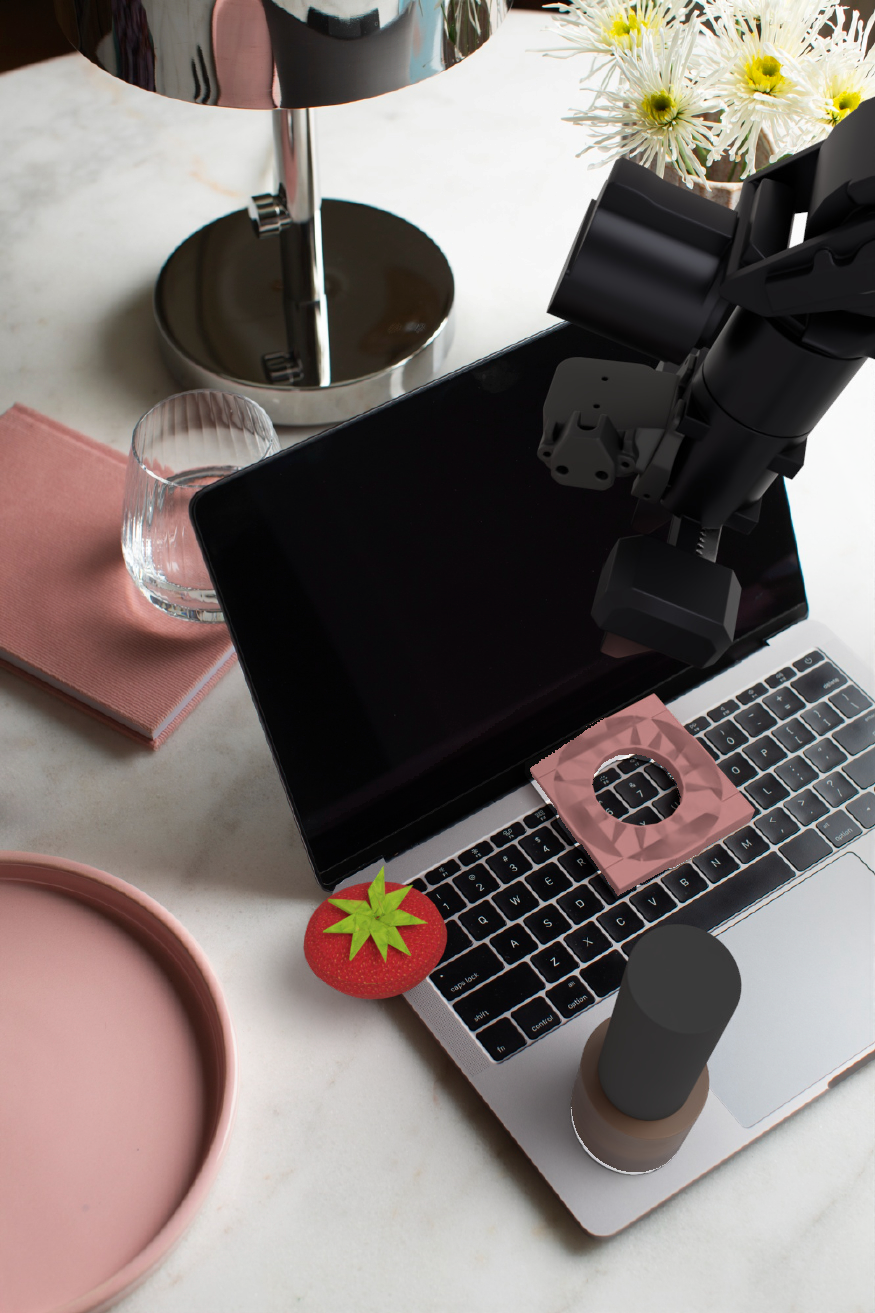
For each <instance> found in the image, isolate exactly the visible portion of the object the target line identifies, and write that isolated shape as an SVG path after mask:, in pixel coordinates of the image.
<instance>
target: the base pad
mask: <svg viewBox="0 0 875 1313" xmlns="http://www.w3.org/2000/svg"><path fill="white" fill-rule="evenodd" d="M602 719H603V718H602ZM599 720H600V719H599ZM629 754H637V755H642V756H646V757H647V758H651V759H653V760H654V761H656V762H657V763H658V764H660V765H661V766H662V767H665V768H666V769H667V771H668V772H669V773H670V774H671V776H673V778H674V780H675V781H676V783H677V787H678V790H679V793H680V796H681V798H680V797H679V802H680V805H679V804H678V806H677V808H676V809H675V811H674V812H673V813H672V815H670V816H667V817H666V818H665V819H663V820H661V821H659V822H658V823H652V824H651V823H650V824H645V825H639V824H638V825H637V824H632V823H628V822H623V821H622V820H620V819H618V818H617V817H616V816H613V815H612V814H610V813H608V812H607V811H606V810H605V808H604V807H603V805H601V803H600V802H599V801H598V800H597V797H596V793H595V789H594V785H592V784H594V780H595V779H594V774H595V773H596V772H597V771H598V769H599V768H600V767H601V765H602V764H603V763H604V762H606V761H608V760H609V759H612V758H614V757H615V756H618V755H629ZM530 772H531V774H532V777H533V778H534V780H536V781H537V783H538V784H539V785H540V787H541V788H542V790H543V791H544V792H545V794H546V795H547V797H548V798H549V799H550V801H551V802H552V803H553V805H554V807H555V808H556V810H557V813H558V815H559V817H560V818H561V820H562V822H563V823H564V824H565V826H566V828H568V830H569V831H570V832H571V834H572V836H573V837H574V838H575V840H576V841H577V842H578V843H579V844H582V845H583V847H584V849H585V850H586V851H587V853H588V855H590V857H591V859H592V860H593V861H594V863H595V864H596V866H597V867H598V869H599V870H600V871H601V873H602V874H603V875H604V876H605V878H606V880H607V882H609V884H610V885H611V887H612V888H613V889H614V891H615V893H616V894H617V896H619V895H620V894H622V893H624V892H626V891H627V890H630V889H632V888H633V887H635V886H637V885H639V884H640V883H643V882H645V881H646V880H648V879H650V878H652V877H654V876H655V875H657V874H659V873H661V872H663V871H664V870H667V869H668V868H673V867H676V866H677V865H679V864H681V863H683V862H685V861H686V860H688V859H690V858H692V857H693V856H695V855H697V856H699V855H700V854H701V853H702V852H703V851H704V850H705V849H706V848H708V847H710V846H712V845H713V844H715V843H717V842H718V841H720V840H722V839H723V838H725V837H726V836H728V835H730V834H732V833H734V832H735V831H737V830H738V829H741V828H742V827H744V826H746V825H747V824H749V823H750V822H751V821H752V818H753V816H754V813H755V811H756V809H755V808H754V807H753V805H751V803H750V802H749V801H748V800H747V798H746V797H744V795H743V794H742V793H741V792H740V790H739V789H738V788H737V787H736V786H735V784H734V783H733V782H732V781H731V780H730V778H728V776H727V775H726V774H725V772H723V771H722V769H720V767H719V766H718V765H717V762H716V761H715V758H713V756H712V755H711V754H710V753H709V752H708V750H706V749H705V748H704V746H703V745H702V744H701V742H700V741H698V739H697V738H696V737H695V736H694V735H692V734H690V732H689V731H688V730H687V729H686V728H685V727H684V725H683V724H682V723H681V722H680V721H679V720H678V719H677V717H675V715H674V714H673V713H672V712H671V710H670V709H669V708H668V707H667V706H666V705H665V704H664V703H663V702H662V700H660V698H659V697H658V696H657V695H656V694H655V693H652V694H650V695H648V696H646V697H644V698H643V699H641V700H639V701H636V702H634V703H633V704H630V705H629V706H627V707H626V708H624V709H621V710H620V711H618V712H616V713H614V714H612V715H610V716H608V717H604V719H603V720H600V722H597V724H595V725H594V726H591V728H588V729H587V730H585V731H584V732H583V733H582V734H580V735H579V736H577V737H576V738H574V740H570V742H568V743H567V744H564V745H563V746H562V747H561V748H559V749H558V750H555V753H553V752H552V754H551V755H548V757H545V759H541V761H539V763H538V764H535V765H534V766H532V767H531V768H530ZM593 779H594V780H593ZM677 787H676V788H677ZM721 838H722V839H721ZM719 839H720V840H719ZM714 842H715V843H714ZM712 843H713V844H712ZM709 845H710V846H709ZM707 846H708V847H707ZM701 851H702V852H701ZM700 852H701V853H700ZM699 853H700V854H699ZM698 854H699V855H698ZM695 857H696V856H695ZM692 859H693V858H692ZM690 860H691V859H690ZM685 863H686V862H685ZM683 864H684V863H683ZM667 871H668V870H667Z"/></svg>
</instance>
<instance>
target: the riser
mask: <svg viewBox="0 0 875 1313" xmlns="http://www.w3.org/2000/svg"><path fill="white" fill-rule="evenodd" d="M610 1019H611V1016H609V1017H607V1018H606V1019H604V1020H603V1021H602V1022H600V1024H598V1025H597V1026H596V1027H595V1028H594V1029H593V1031H592V1032H591V1034H590V1035H589V1037H588V1039H587V1040H586V1042H585V1045H584V1047H583V1050H582V1053H581V1057H580V1062H579V1065H578V1070H577V1073H576V1078H575V1081H574V1086H573V1089H572V1093H571V1097H572V1100H571V1099H570V1104H571V1107H572V1108H571V1109H572V1116H573V1121H574V1125H575V1128H576V1131H577V1133H578V1135H579V1137H580V1138H581V1140H582V1141H583V1143H584V1145H585V1146H586V1147H587V1148H588V1150H589V1151H590V1152H591V1153H592V1154H593V1155H594V1156H595V1157H596V1158H598V1159H599V1160H600V1161H602V1162H603V1163H605V1164H607V1165H609V1166H611V1167H613V1168H616V1169H617V1170H621V1171H626V1172H646V1171H649V1170H653V1169H656V1168H659V1167H660V1166H662V1165H664V1164H666V1163H667V1162H668V1161H669V1160H670V1159H671V1160H672V1159H673V1158H674V1157H675V1156H676V1155H677V1153H678V1152H679V1151H680V1149H681V1147H682V1145H683V1144H684V1142H685V1141H686V1139H687V1137H688V1136H689V1133H690V1132H691V1130H692V1129H693V1127H694V1125H695V1124H696V1122H697V1121H698V1119H699V1117H700V1115H701V1114H702V1111H703V1109H704V1108H705V1106H706V1103H707V1099H708V1096H709V1092H710V1073H709V1072H710V1071H709V1066H708V1062H707V1063H706V1065H705V1067H704V1069H703V1071H702V1073H701V1075H700V1076H699V1078H698V1080H697V1082H696V1084H695V1086H694V1088H693V1089H692V1091H691V1093H690V1095H689V1097H688V1099H687V1100H686V1102H685V1103H684V1105H683V1106H682V1107H681V1108H680V1109H679V1110H678V1111H677V1112H676V1113H674V1114H673V1115H671V1116H669V1117H667V1118H664V1119H660V1120H654V1121H645V1120H639V1119H636V1118H633V1117H630V1116H628V1115H626V1114H625V1113H623V1112H621V1111H620V1110H619V1109H618V1108H616V1107H615V1106H614V1105H613V1104H612V1103H611V1102H610V1100H609V1099H608V1098H607V1096H606V1094H605V1093H604V1091H603V1089H602V1086H601V1083H600V1080H599V1074H598V1062H599V1057H600V1053H601V1050H602V1046H603V1043H604V1039H605V1036H606V1033H607V1029H608V1026H609V1022H610ZM677 1151H678V1152H677ZM675 1154H676V1155H675ZM674 1155H675V1156H674ZM673 1156H674V1157H673ZM672 1157H673V1158H672ZM671 1160H670V1161H671ZM670 1161H669V1162H670ZM669 1162H668V1163H669ZM668 1163H667V1164H668ZM667 1164H666V1165H667Z"/></svg>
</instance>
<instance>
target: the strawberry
mask: <svg viewBox="0 0 875 1313" xmlns="http://www.w3.org/2000/svg"><path fill="white" fill-rule="evenodd" d="M413 886H414V885H413V884H411V885H410V884H409V885H406V884H403V883H399V882H393V881H385V865H383V866H382V867H381V868H380V870H379V872H378V874H377V875H376V877H375V878H374V880H373V881H366V882H361V883H356V884H354V885H351V886H347V887H345V888H342V889H341V890H339V891H337V892H335V893H333V894H331V895H330V896H329V897H327V898H325V899H324V900H323V901H322V903H320V904H319V905H318V907H316V908H315V910H314V912H313V913H312V915H311V916H310V918H309V920H308V923H307V926H306V929H305V932H304V936H303V947H302V948H303V953H304V959H305V960H306V963H307V965H308V967H309V968H310V970H311V971H312V972H313V973H314V975H315V976H316V977H317V978H319V979H320V980H321V981H322V982H324V983H325V984H326V985H327V986H328V987H331V988H332V989H334V990H335V991H338V992H339V993H341V994H344V995H346V996H348V997H353V998H357V999H364V1000H383V999H387V998H392V997H396V996H399V995H402V994H404V993H407V992H408V991H410V990H412V989H414V988H416V987H417V986H418V985H419V984H421V983H422V982H423V981H424V980H426V978H427V977H428V976H429V975H430V974H431V973H432V972H433V970H434V969H435V968H436V966H437V965H438V964H439V962H440V960H441V958H442V957H443V955H444V953H445V950H446V947H447V946H446V945H447V943H448V930H447V926H446V923H445V920H444V918H443V917H442V914H441V913H440V911H439V909H438V907H437V906H436V904H435V903H434V902H433V901H432V900H431V899H430V898H429V897H428V896H427V895H425V894H424V893H422V892H421V891H420V890H418V889H416V888H414V887H413Z"/></svg>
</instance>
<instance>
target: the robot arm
mask: <svg viewBox="0 0 875 1313" xmlns="http://www.w3.org/2000/svg"><path fill="white" fill-rule="evenodd" d="M804 213H805V214H806V220H805V221H806V222H805V226H804V233H803V238H802V242H800V243H798V244H795V245H793V246H791V241H792V235H793V234H792V233H793V229H794V222H795V218H796V215H799V214H804ZM573 239H574V240H573V241H572V244H571V246H570V249H569V251H568V254H567V256H566V259H565V261H564V264H563V266H562V269H561V271H560V273H559V276H558V279H557V281H556V284H555V287H554V289H553V292H552V294H551V297H550V300H549V303H548V305H547V309H546V314H548V315H550V316H553V317H555V318H557V319H560V320H563V321H564V322H566V323H570V324H572V325H574V326H577V327H579V328H581V329H584V330H586V331H589V332H591V333H593V334H596V335H597V336H601V337H603V338H604V339H608V340H611V341H613V342H615V343H617V344H619V345H622V346H625V347H627V348H629V349H632V350H634V351H636V352H639V353H641V354H643V355H645V356H648V357H651V358H653V359H655V360H658V361H659V363H658V365H657V366H656V368H655V369H654V368H652V367H651V366H649V365H647V364H642V363H636V362H635V363H634V362H625V361H619V360H618V361H616V360H610V359H609V360H607V359H600V358H599V359H598V358H591V357H580V356H579V357H578V356H577V357H576V356H575V357H569V358H566V359H564V360H562V361H561V362H560V363H559V364H558V365H557V367H556V369H555V371H554V375H553V378H552V381H551V384H550V386H549V390H548V391H547V395H546V399H545V401H544V405H543V409H542V412H543V413H542V423H543V424H542V427H543V428H542V430H543V431H542V432H543V434H542V437H541V439H540V442H539V446H538V448H537V452H536V455H537V458H538V459H539V460H540V461H541V462H543V463H544V464H545V466H546V467H548V469H550V477H551V478H552V479H553V480H554V481H555V482H556V483H557V484H559V485H561V486H567V487H572V488H573V487H574V488H581V489H588V490H596V491H606V490H608V489H609V488H611V487H613V486H614V483H615V480H616V477H618V478H628V477H632V476H634V475H636V478H635V479H634V480H633V483H632V486H631V487H632V488H631V491H630V495H631V496H633V497H636V498H638V499H637V502H636V506H635V509H634V511H633V512H634V513H633V516H632V519H631V522H630V528H631V530H633V531H635V532H637V533H639V534H636V535H630V536H624V537H619V538H618V539H617V540H616V542H615V544H614V546H612V547H613V548H611V550H610V552H609V555H608V557H607V558H606V561H605V562H604V563H603V564H602V568H601V571H600V576H599V579H598V584H597V587H596V590H595V595H594V600H593V603H592V607H591V610H590V616H591V618H592V619H593V621H594V622H595V624H596V625H597V627H598V628H599V629H600V630H603V631H604V634H603V636H602V640H601V643H600V646H599V651H600V652H601V653H603V654H605V655H607V656H610V657H613V658H616V659H619V658H624V657H629V656H633V655H637V654H642V653H646V652H650V651H655V652H657V653H660V654H661V655H665V656H667V657H669V658H672V659H675V660H677V661H678V662H679V661H680V662H681V663H684V664H687V665H689V666H692V667H695V668H697V669H699V670H704V669H705V668H709V667H711V666H713V665H715V664H716V663H717V661H718V660H720V658H722V656H723V655H724V654H725V653H726V651H727V650H729V648H730V647H731V646H732V645H733V642H734V636H735V630H736V624H737V618H738V612H739V607H740V599H741V593H742V587H741V584H740V582H739V580H738V578H737V576H736V573H735V572H734V569H732V568H729V567H727V566H724V565H722V564H720V563H717V562H716V560H717V554H718V550H719V544H720V539H721V533H722V528H723V526H725V527H727V528H729V529H732V530H734V531H737V532H739V533H741V534H742V535H743V534H744V535H745V536H750V534H751V532H752V531H753V530H754V529H755V527H756V526H757V525H758V524H759V522H760V521H759V520H760V514H761V508H762V501H763V496H764V494H765V492H766V491H767V490H768V488H769V487H770V486H771V485H772V483H774V481H775V479H776V478H777V477H778V476H782V477H784V478H786V479H789V480H791V481H792V480H794V478H796V476H797V475H798V473H799V472H800V471H801V469H802V468H803V467H804V466H805V458H806V452H807V444H808V438H809V435H810V434H811V433H812V432H813V430H814V429H815V428H816V426H817V425H818V424H819V423H820V421H821V420H822V419H823V417H824V416H825V414H826V413H827V412H828V411H829V410H830V408H831V406H832V405H833V404H834V403H835V402H836V400H837V399H838V398H839V396H840V395H841V394H842V393H843V391H844V390H845V389H846V387H847V386H848V385H849V384H850V382H851V381H852V380H853V379H854V377H855V376H856V375H857V373H858V372H859V370H860V369H861V368H862V367H863V365H864V364H865V363H866V362H867V361H868V359H873V360H875V96H873V97H869V98H867V99H865V100H862V101H861V102H860V103H859V104H858V105H857V107H856V108H855V109H854V110H852V111H851V112H850V113H849V114H847V115H846V116H845V117H844V118H843V119H841V120H840V121H839V122H838V123H836V124H835V125H834V127H833V128H832V129H831V131H830V133H829V134H828V135H827V137H826V138H824V139H822V140H820V141H818V142H816V143H814V144H811V145H809V146H807V147H806V148H804V149H802V150H799V151H797V152H795V153H794V154H791V155H789V156H787V157H785V158H783V159H781V160H778V161H777V162H775V163H773V164H770V165H768V166H767V167H764V168H763V169H760V170H758V171H756V172H753V173H752V174H750V175H747V176H746V177H745V178H744V179H743V181H742V185H741V189H740V195H739V198H738V202H737V203H736V205H735V207H734V208H730V207H727V206H725V205H723V204H720V203H718V202H716V201H713V200H711V199H709V198H707V197H705V196H702V195H699V194H697V193H695V192H693V191H690V190H688V189H686V188H684V187H681V186H679V185H676V184H674V183H673V182H669V181H667V180H666V179H664V178H663V177H661V176H660V175H658V174H657V173H656V172H654V171H653V170H651V169H650V168H648V167H646V166H644V165H642V164H640V163H637V162H635V161H634V160H630V159H628V158H626V157H623V156H621V157H619V158H617V159H615V161H614V163H613V165H612V168H611V170H610V172H609V175H608V177H607V178H606V180H605V181H604V183H603V185H602V186H601V188H600V191H599V193H598V195H597V198H596V199H595V198H591V199H590V202H589V204H588V206H587V208H586V211H585V212H584V216H583V218H582V220H581V223H580V225H579V227H578V230H577V232H576V234H575V237H574V238H573ZM730 303H731V304H733V305H735V306H736V307H735V309H734V310H733V312H732V313H731V315H730V317H729V318H728V320H727V322H726V323H725V325H724V326H723V328H722V330H721V332H719V335H718V336H717V338H716V340H715V341H714V343H713V344H712V346H711V348H708V347H706V345H707V344H708V342H709V341H710V340H711V338H712V336H713V335H714V333H715V331H716V329H717V328H718V326H719V324H720V322H721V320H722V318H723V316H724V314H725V312H726V311H727V309H728V307H729V305H730ZM637 474H638V475H637ZM670 520H671V522H670V527H669V531H668V534H667V539H666V541H664V540H661V539H659V538H657V537H654V536H652V535H649V534H650V533H652V532H654V531H655V530H657V529H658V528H660V527H662V526H663V525H665V524H667V523H668V522H669V521H670Z"/></svg>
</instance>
